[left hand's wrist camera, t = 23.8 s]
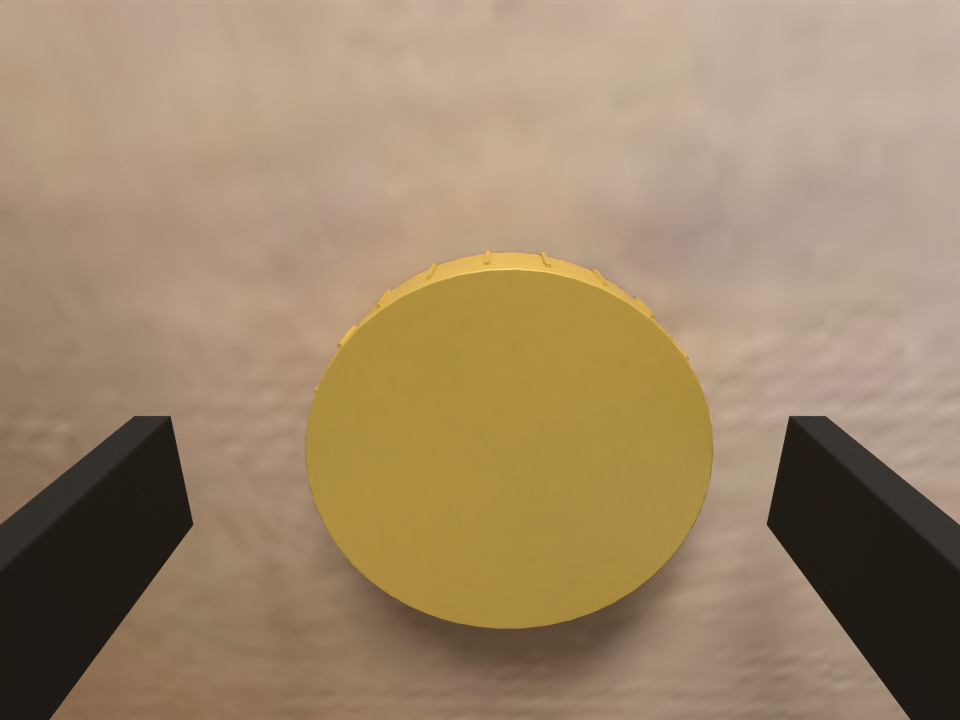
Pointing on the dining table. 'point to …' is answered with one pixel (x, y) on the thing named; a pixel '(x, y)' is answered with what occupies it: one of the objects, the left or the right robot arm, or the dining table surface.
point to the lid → (508, 442)
